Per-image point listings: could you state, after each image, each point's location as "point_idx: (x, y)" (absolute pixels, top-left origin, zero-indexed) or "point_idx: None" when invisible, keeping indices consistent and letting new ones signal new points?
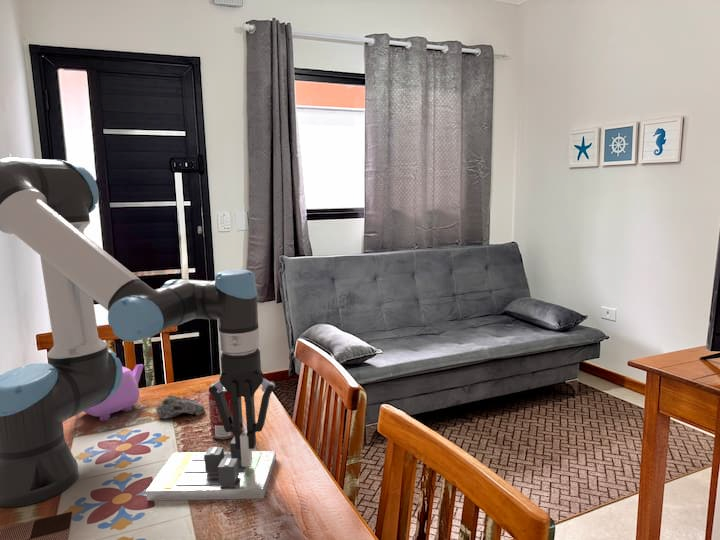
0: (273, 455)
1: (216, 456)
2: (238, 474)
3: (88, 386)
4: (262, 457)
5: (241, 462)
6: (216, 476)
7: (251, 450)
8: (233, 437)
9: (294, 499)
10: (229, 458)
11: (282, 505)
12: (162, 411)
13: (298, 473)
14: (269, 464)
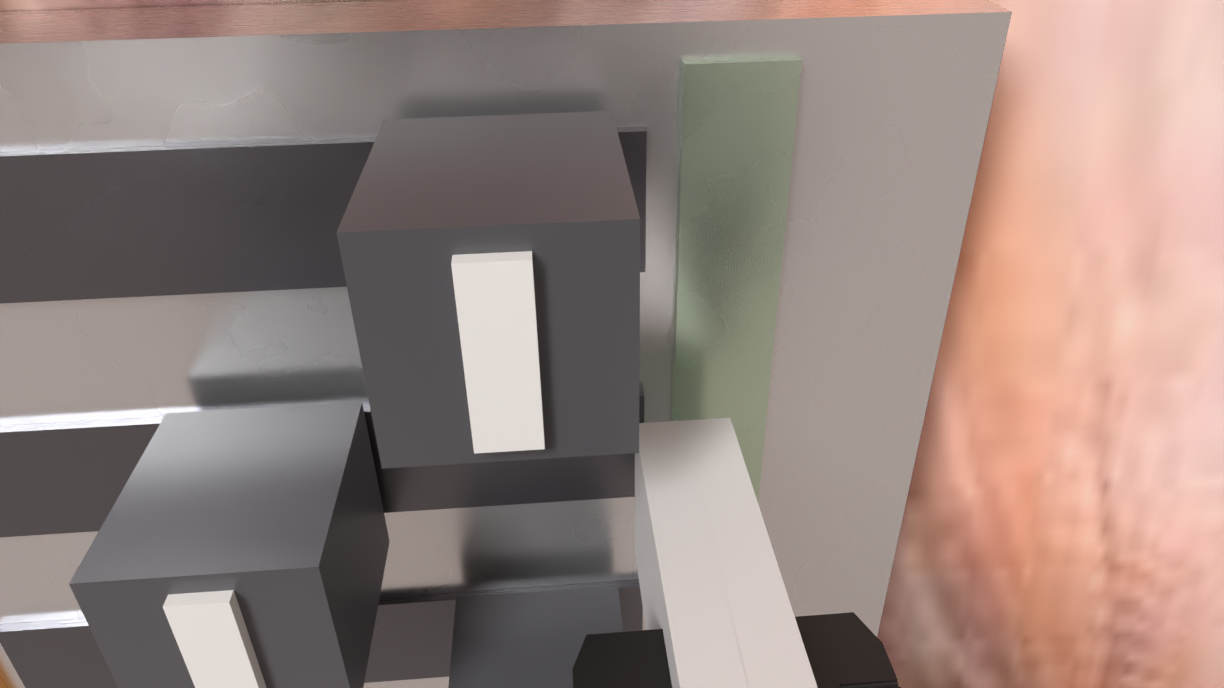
0: (973, 144)
1: None
2: (619, 602)
3: None
4: (821, 196)
5: (641, 591)
6: None
7: (758, 511)
8: (344, 269)
9: (1074, 600)
10: None
11: (980, 654)
12: None
13: (1176, 281)
14: (918, 348)
